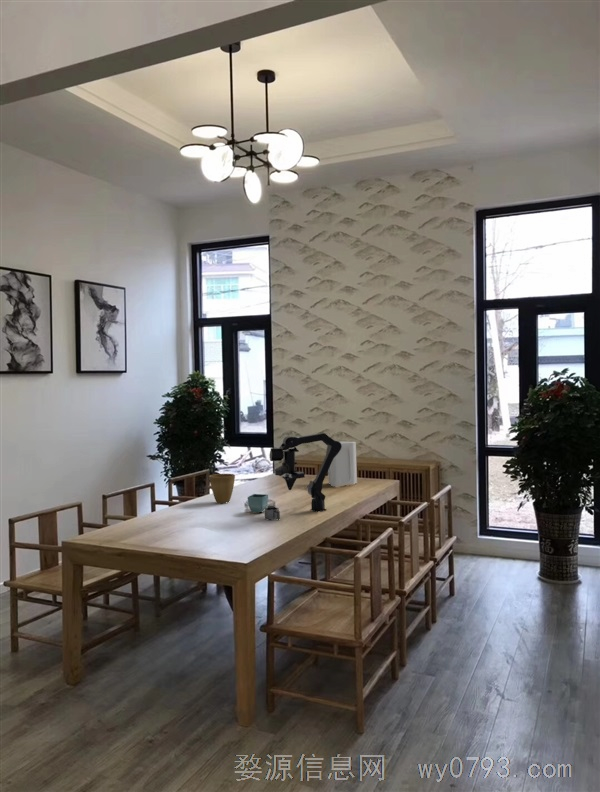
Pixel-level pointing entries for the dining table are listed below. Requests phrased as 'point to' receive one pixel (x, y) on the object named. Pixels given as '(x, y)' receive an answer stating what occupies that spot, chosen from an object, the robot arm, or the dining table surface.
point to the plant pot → (222, 486)
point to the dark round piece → (271, 507)
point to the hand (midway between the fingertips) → (289, 490)
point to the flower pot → (257, 502)
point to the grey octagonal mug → (272, 513)
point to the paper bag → (344, 466)
